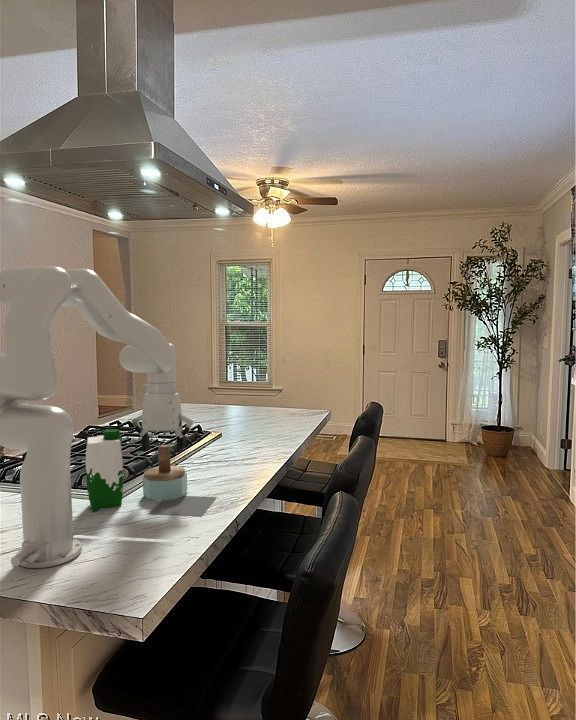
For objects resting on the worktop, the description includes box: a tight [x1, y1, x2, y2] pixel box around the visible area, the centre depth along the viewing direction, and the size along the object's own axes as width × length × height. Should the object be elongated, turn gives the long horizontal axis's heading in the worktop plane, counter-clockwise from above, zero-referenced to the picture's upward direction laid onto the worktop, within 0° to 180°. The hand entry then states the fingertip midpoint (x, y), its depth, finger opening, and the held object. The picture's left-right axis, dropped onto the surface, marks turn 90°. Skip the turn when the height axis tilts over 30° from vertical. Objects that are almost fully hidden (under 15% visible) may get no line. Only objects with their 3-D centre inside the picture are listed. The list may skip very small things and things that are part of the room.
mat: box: [147, 495, 218, 518], centre depth 139 cm, size 14×14×1 cm
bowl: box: [142, 471, 188, 502], centre depth 148 cm, size 11×11×6 cm
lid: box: [143, 444, 186, 481], centre depth 147 cm, size 11×11×8 cm
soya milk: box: [85, 428, 124, 513], centre depth 140 cm, size 9×9×20 cm
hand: (163, 450), depth 147 cm, fingers open, 9 cm apart
